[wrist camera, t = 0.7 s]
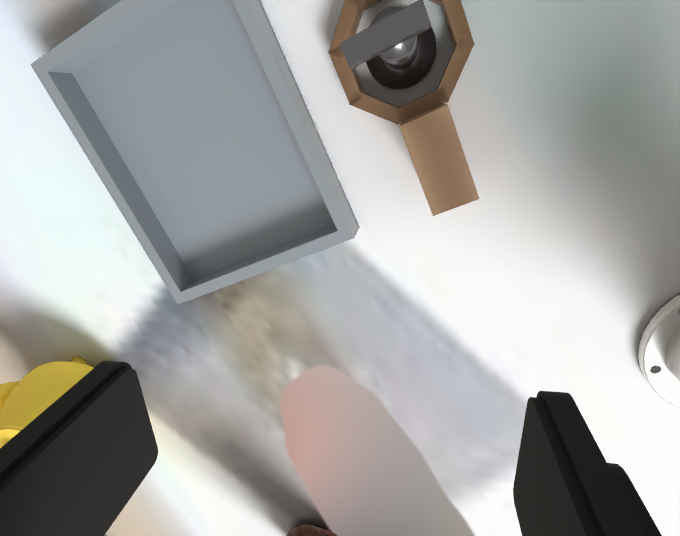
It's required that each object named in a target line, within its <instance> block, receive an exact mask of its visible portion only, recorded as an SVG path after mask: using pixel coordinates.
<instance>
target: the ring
mask: <svg viewBox="0 0 680 536" xmlns="http://www.w3.org/2000/svg"><path fill="white" fill-rule="evenodd" d="M380 1H382V0H345V2H344V6H343V9H342V12H341V15H340V18H339V21H338V25H337V28H336V31H335V34H334V37H333V40H332V44H331V47H330V50H329V54H330V57H331V59H332V61H333V64H334V66H335V69H336V71H337V74H338V76H339V79H340V81H341V84H342V86H343V88H344V91H345V93H346V96H347V98H348V101H349V103H350V105H352V106H355V107H357V108H359V109H362V110H364V111H367V112H369V113H371V114H374V115H376V116H379V117H381V118H384V119H386V120H388V121H391V122H393V123H396V124H400V123H402V124H401V125H400V126H399V127H400V130H401V133H402V135H403V138H404V140H405V143H406V146H407V148H408V151H409V154H410V156H411V159H412V162H413V164H414V167H415V170H416V172H417V175H418V177H419V180H420V183H421V185H422V188H423V191H424V193H425V196H426V199H427V201H428V204H429V206H430V209H431V212H432V214H433V216H434V215H437V214H440V213H442V212H445V211H448V210H450V209H453V208H456V207H458V206H461V205H464V204H467V203H469V202H472V201H475V200H477V199H479V196H478V194H477V191H476V188H475V185H474V182H473V179H472V176H471V173H470V170H469V167H468V164H467V161H466V158H465V155H464V152H463V149H462V146H461V143H460V140H459V137H458V135H457V132H456V129H455V126H454V123H453V120H452V117H451V114H450V111H449V108H448V105H446V104H444V103H446V102H448V101H449V98H450V96H451V94H452V92H453V90H454V87H455V85H456V83H457V81H458V79H459V76H460V74H461V72H462V70H463V67H464V65H465V63H466V61H467V59H468V56H469V54H470V52H471V50H472V48H473V45H474V42H473V39H472V36H471V32H470V29H469V26H468V23H467V19H466V16H465V13H464V10H463V6H462V3H461V0H429V1H432V2H434V3H437V4H439V5H441V7H442V10H443V13H444V17H445V20H446V23H447V26H448V29H449V32H450V35H451V38H452V41H453V45H454V48H455V49H454V51H453V53H452V56H451V58H450V60H449V63H448V65H447V67H446V69H445V72H444V74H443V76H442V79H441V81H440V83H439V86H438V88H437V90H436V91H434V92H432V93H430V94H427V95H425V96H423V97H421V98H419V99H417V100H415V101H412V102H410V103H408V104H406V105H404V106H402V107H400V108H399V107H397V106H394V105H392V104H389V103H387V102H384V101H382V100H380V99H377V98H375V97H372V96H370V95H367V94H365V93H364V92H363V89H362V87H361V84H360V82H359V79H358V77H357V74H356V72H355V69H354V68H350V67H349V66H348V63H347V61H346V58H345V56H344V53H343V51H342V48H341V46H340V43H341V42H343V41H345V40H347V39H349V38H350V37H352V36H354V35H355V34H356V31H357V28H358V25H359V22H360V19H361V16H362V13H363V11H364V10H366V9H367V8H369V7H371V6H373V5H374V4H376V3H378V2H380Z"/></svg>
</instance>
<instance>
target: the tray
mask: <svg viewBox="0 0 680 536" xmlns="http://www.w3.org/2000/svg"><path fill="white" fill-rule="evenodd" d="M31 66H32V68H33V69H34V71H35V73H36V74H37V76H38V78H39V79H40V81H41V82H42V84H43V86H44V87H45V89H46V91H47V92H48V94H49V95H50V97H51V99H52V100H53V102H54V104H55V105H56V107H57V109H58V110H59V112H60V113H61V115H62V117H63V118H64V120H65V122H66V123H67V125H68V126H69V128H70V130H71V131H72V133H73V135H74V136H75V138H76V139H77V141H78V143H79V144H80V146H81V148H82V149H83V151H84V153H85V154H86V156H87V157H88V159H89V161H90V162H91V164H92V166H93V167H94V169H95V170H96V172H97V174H98V175H99V177H100V179H101V180H102V182H103V184H104V185H105V187H106V188H107V190H108V192H109V193H110V195H111V197H112V198H113V200H114V201H115V203H116V205H117V206H118V208H119V210H120V211H121V213H122V214H123V216H124V218H125V219H126V221H127V223H128V224H129V226H130V228H131V229H132V231H133V232H134V234H135V236H136V237H137V239H138V241H139V242H140V244H141V245H142V247H143V249H144V250H145V252H146V254H147V255H148V257H149V259H150V260H151V262H152V263H153V265H154V267H155V268H156V270H157V272H158V273H159V275H160V276H161V278H162V280H163V281H164V283H165V285H166V286H167V288H168V289H169V291H170V293H171V294H172V296H173V298H174V299H175V301H176V303H177V304H180V303H183V302H186V301H188V300H191V299H194V298H196V297H199V296H202V295H204V294H207V293H209V292H212V291H215V290H217V289H220V288H223V287H225V286H228V285H231V284H233V283H236V282H239V281H241V280H244V279H247V278H249V277H252V276H255V275H257V274H260V273H263V272H265V271H268V270H270V269H273V268H276V267H278V266H281V265H284V264H286V263H289V262H292V261H294V260H297V259H300V258H302V257H305V256H308V255H310V254H313V253H316V252H318V251H321V250H323V249H326V248H329V247H331V246H334V245H337V244H339V243H342V242H345V241H347V240H350V239H353V238H354V237H355V235H356V233H357V231H358V229H359V225H358V223H357V220H356V218H355V216H354V214H353V211H352V209H351V207H350V205H349V202H348V200H347V198H346V195H345V193H344V191H343V189H342V186H341V184H340V182H339V179H338V177H337V175H336V173H335V170H334V168H333V166H332V163H331V161H330V159H329V157H328V154H327V152H326V150H325V147H324V145H323V143H322V141H321V138H320V136H319V134H318V131H317V129H316V127H315V125H314V122H313V120H312V118H311V115H310V113H309V111H308V109H307V106H306V104H305V102H304V100H303V97H302V95H301V93H300V90H299V88H298V86H297V84H296V81H295V79H294V77H293V74H292V72H291V70H290V68H289V65H288V63H287V61H286V58H285V56H284V54H283V52H282V49H281V47H280V45H279V42H278V40H277V38H276V36H275V33H274V31H273V29H272V26H271V24H270V22H269V20H268V17H267V15H266V13H265V10H264V8H263V6H262V4H261V1H260V0H121V1H119V2H118V3H116V4H115V5H114V6H112V7H111V8H109V9H108V10H107V11H105V12H104V13H102V14H101V15H100V16H98V17H97V18H95V19H94V20H92V21H91V22H90V23H88V24H87V25H85V26H84V27H83V28H81V29H80V30H78V31H77V32H76V33H74V34H73V35H71V36H70V37H69V38H67V39H66V40H64V41H63V42H61V43H60V44H59V45H57V46H56V47H54V48H53V49H52V50H50V51H49V52H47V53H46V54H45V55H43V56H42V57H40V58H39V59H37V60H36V61H35V62H33V63H32V64H31Z"/></svg>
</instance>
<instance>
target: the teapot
mask: <svg viewBox="0 0 680 536" xmlns="http://www.w3.org/2000/svg"><path fill="white" fill-rule="evenodd" d="M92 369H94V367H92V366H89V365H88V363H87V362H86V361H85V360H84V359H82V358H80V357H74V358H73V359H72V360H71V362H66V361H58V362H49V363H46V364H43V365H40V366H38V367H36V368H34V369H33V370H32V371H31V372H29V373H28V374H27V375H26V376H25V377H24V378H23V379H22V380H21V381H17V382H8V383H4V384H0V448H1V447H2V446H4V445H5V444H6V443H7V442H8V441H9V440H11V439H12V438H13V437H14V436H15V435H16V434H18V433H19V432H20V431H21V430H22V429H23V428H25V427H26V426H27V425H28V424H29V423H30V422H32V421H33V420H34V419H35V418H36V417H37V416H39V415H40V414H41V413H42V412H43V411H44V410H46V409H47V408H48V407H49V406H50V405H51V404H53V403H54V402H55V401H56V400H57V399H58V398H60V397H61V396H62V395H63V394H64V393H65V392H67V391H68V390H69V389H70V388H71V387H73V386H74V385H75V384H76V383H77V382H78V381H80V380H81V379H82V378H83V377H84V376H85V375H87V374H88V373H89V372H90V371H91V370H92Z"/></svg>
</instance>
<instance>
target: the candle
mask: <svg viewBox="0 0 680 536" xmlns="http://www.w3.org/2000/svg"><path fill="white" fill-rule="evenodd" d="M287 536H337V535H336V534H334V533H333V532H331V531H329V530H325V529H322V528H319V527H315V526H313V525H308V524H306V525H302V526H298V527H295V528H292V529H291V530H290V531H289V532H288V534H287Z"/></svg>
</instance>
